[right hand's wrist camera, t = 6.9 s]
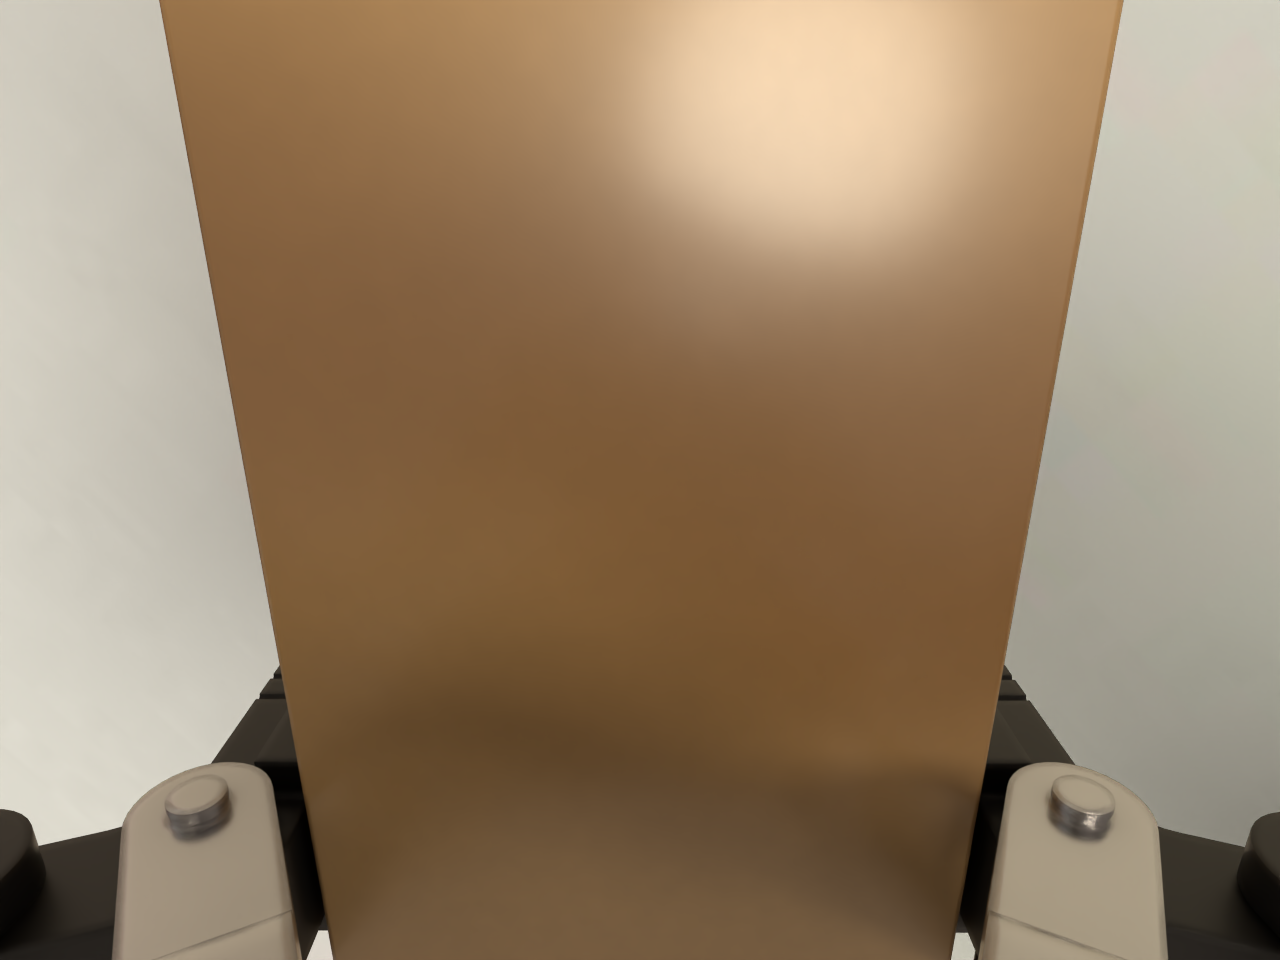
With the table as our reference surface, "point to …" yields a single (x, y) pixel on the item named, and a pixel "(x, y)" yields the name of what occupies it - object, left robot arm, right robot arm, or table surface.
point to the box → (641, 444)
